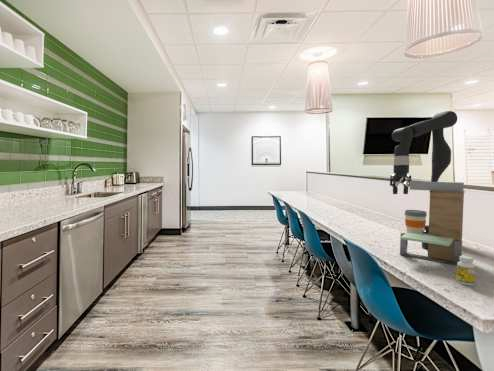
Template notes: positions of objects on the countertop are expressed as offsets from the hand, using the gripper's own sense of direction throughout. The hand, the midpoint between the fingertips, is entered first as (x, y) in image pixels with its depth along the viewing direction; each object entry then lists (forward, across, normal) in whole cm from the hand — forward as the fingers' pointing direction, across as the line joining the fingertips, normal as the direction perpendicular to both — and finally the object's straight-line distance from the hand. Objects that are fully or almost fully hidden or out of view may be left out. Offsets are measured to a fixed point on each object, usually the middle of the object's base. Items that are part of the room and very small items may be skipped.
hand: (400, 194), depth 155 cm
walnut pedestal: (+29, +1, +24) cm, 38 cm away
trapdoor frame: (+29, +9, +22) cm, 38 cm away
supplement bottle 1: (+29, -10, +10) cm, 32 cm away
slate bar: (-3, +4, +21) cm, 21 cm away
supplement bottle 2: (+31, +25, +45) cm, 60 cm away
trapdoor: (+19, +15, +25) cm, 35 cm away
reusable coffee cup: (+27, -38, -16) cm, 49 cm away
